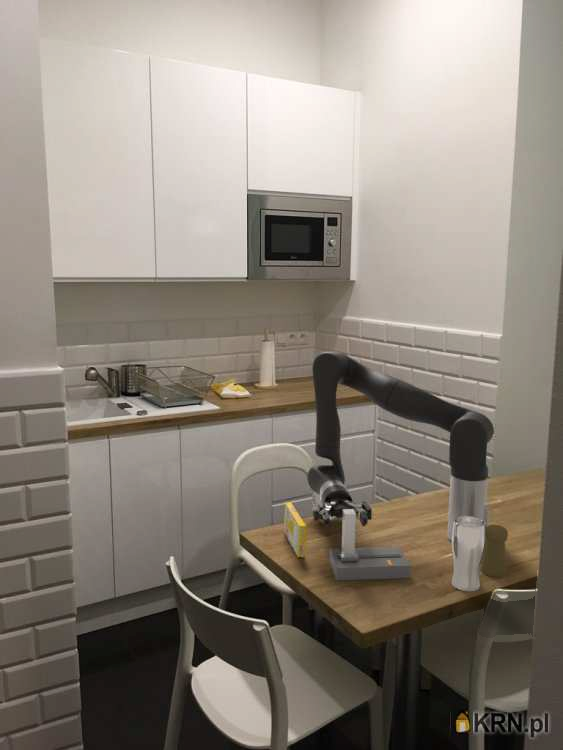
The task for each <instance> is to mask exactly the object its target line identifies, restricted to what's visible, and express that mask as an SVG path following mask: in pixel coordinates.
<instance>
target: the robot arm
mask: <svg viewBox="0 0 563 750" xmlns="http://www.w3.org/2000/svg"><path fill="white" fill-rule="evenodd" d="M312 378H313V379H312V380H313V386H314V398H315V412H316V413H315V414H316V419H315V421H316V423H315V424H316V425H315V428H316V430H315V446H314V447H315V455H316V456H317V457H320V458H321V459H327V460H330V461H331V463H332V465H328V464H327V465H324V464H323V465H322V464H317V465H316V464H315V465H313V466H311V467H310V468H309V470H308V472H307V482H308V485H309V487H310V489H311V490H312V491H313V492H314V493H316V494H317V495H318V496H319V498H320V503H321V504H322V505H320V504H318V502H312V508H311V509H312V517H313V521H316V522H317V521H319V520H321V523H322V524H323V525H324V526H326V528H330V527H331V521H332V520H333V519H342V517H343V509H354V511H355V513H356V520H359V522H360V524H361V527H366V525H368V523H369V522H368V520H369V521H371V520H372V519H373V517H372V512H373V509H372V507H371V506H370V505H369V503H368V502H367V501H362V502H361V503H360V504H357V503H355V502H354V501H353V498H352V496H351V494H350V493H349V490H348V488H347V486H345V482H346V477H345V472H344V467H343V464H342V459H341V458H342V457H341V439H342V438H341V437H342V436H341V435H342V434H341V433H342V432H341V431H342V430H341V421H340V418H339V413H338V406H337V391H338V385H341V386H345V387H346V388H347V387H348V388H350V389H352V390H355V391H357V392H359V393H361V394H362V395H364V396H365V397H367V398H368V399H369V400H370V401H371V402H372V403H374V404H375V405H376V406H378V407H379V408H381V409H382V410H384V411H386V412H388V413H390V414H392V415H393V416H394V415H395V416H396V417H400V418H401V419H405V420H408V421H412V422H416V423H423V424H427V425H432V426H434V427H438V428H440V429H442V430H444V431H446V432H448V433H449V445H448V447H449V451H448V452H449V455H448V460H449V466H450V479H449V481H450V482H449V494H448V495H449V497H448V498H449V499H448V514H447V528H446V529H447V535H446V537H447V539H448V540H449V541H450V542H452V531H453V524H454V519H455V518H456V517H459V516H472V517H476V518H479V519H481V520H483V521H484V522H485V528H486V527H487V526H489V515H490V514H489V513H490V507H489V506H488V505H487V498H488V495H487V494H488V482H489V481H488V479H489V466H488V465H487V452H488V451H487V449H488V448H487V447H488V443H490V441H491V440H492V439H493V437H494V433H495V430H494V429H495V428H494V424H493V423H492V421H491V420H490V419H489V417H488V416H486V415H484V414H483V413H482V412H478V411H475V410H472V409H469V408H465V407H462V406H460V405H457V404H454V403H451V402H448V401H446V400H444V399H442V398H440V397H438V396H436V395H434V394H432V393H429V392H427V391H425V390H423V389H421V388H419V387H417V386H415V385H413V384H411V383H408V381H404V380H402V379H399V378H397V377H394V376H393V375H389V374H387V373H384V372H381V371H378V370H375V369H372V368H371V367H368V366H365V365H364V364H362V363H361V362H359V361H357V360H355V359H353V358H352V357H350V356H348V355H347V354H346V353H343V352H341V351H340V352H339V351H322V352H321V353H319V354H317V356H316V357H315V358H314V360H313V363H312ZM485 544H486V538H485Z"/></svg>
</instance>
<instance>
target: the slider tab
mask: <svg viewBox="0 0 563 750" xmlns="http://www.w3.org/2000/svg"><path fill="white" fill-rule="evenodd" d="M341 519H342V524H341V525H342V526H341V547H337V548H338V554H339V557H340V559H341V562H342V561H359V556H358V554H357V552H356V550H355V548H356V527H357V526H356V523H357V522H356V521H357V519H356V513H355V511H354V509H343V517H342V518H341Z"/></svg>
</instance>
